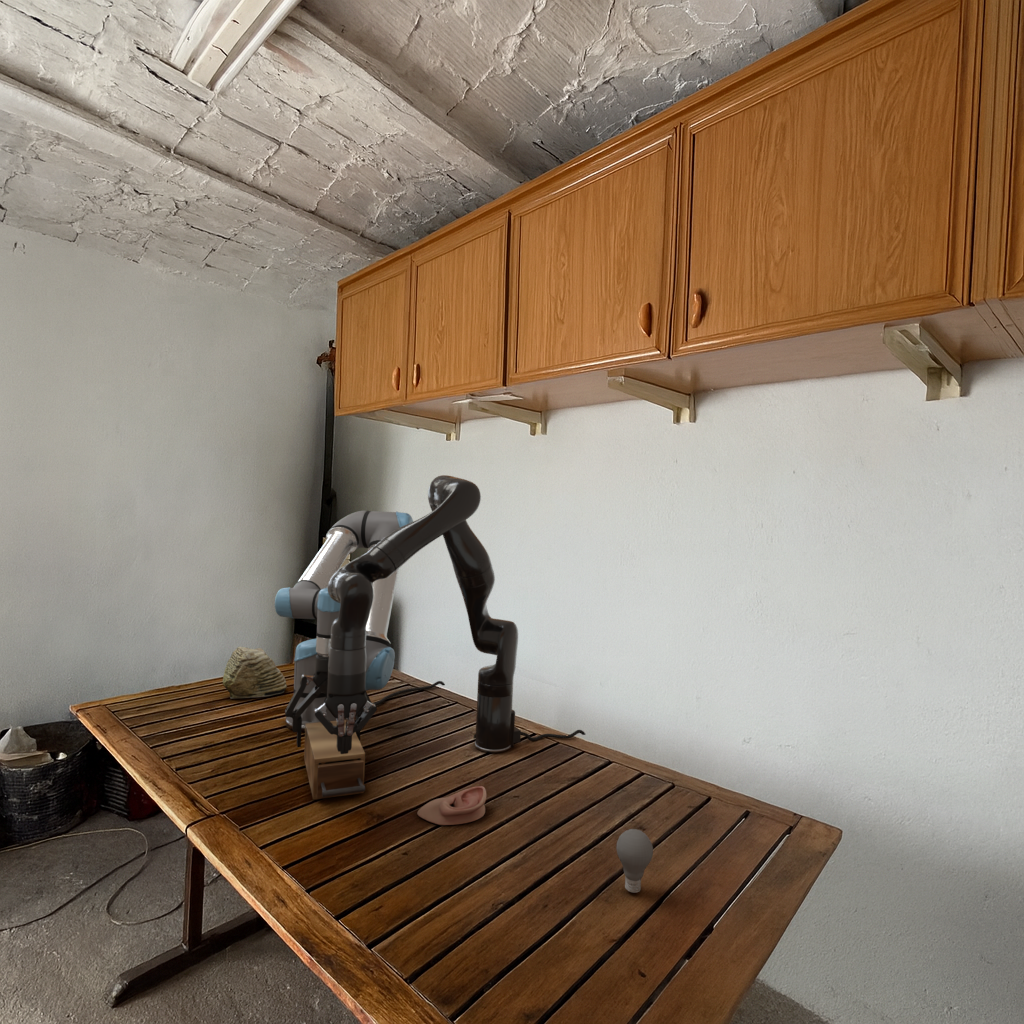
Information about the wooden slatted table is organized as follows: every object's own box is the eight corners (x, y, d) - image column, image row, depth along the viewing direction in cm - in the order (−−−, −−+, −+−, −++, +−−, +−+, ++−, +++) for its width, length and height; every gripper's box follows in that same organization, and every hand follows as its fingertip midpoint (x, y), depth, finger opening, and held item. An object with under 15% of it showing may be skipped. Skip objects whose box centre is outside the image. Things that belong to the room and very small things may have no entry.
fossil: (218, 695, 195) (220, 647, 195) (278, 685, 208) (279, 640, 207) (228, 703, 189) (230, 653, 188) (289, 692, 201) (290, 645, 201)
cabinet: (363, 792, 136) (365, 753, 136) (312, 799, 132) (314, 759, 132) (348, 753, 156) (349, 719, 156) (304, 758, 152) (305, 723, 152)
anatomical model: (412, 801, 125) (431, 776, 136) (411, 820, 125) (430, 795, 136) (477, 810, 122) (491, 784, 134) (476, 830, 122) (490, 803, 134)
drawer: (366, 804, 130) (368, 771, 129) (319, 810, 126) (321, 777, 126) (347, 755, 153) (349, 727, 153) (307, 759, 150) (309, 731, 150)
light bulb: (610, 879, 108) (613, 822, 108) (644, 879, 109) (647, 822, 109) (619, 902, 102) (622, 840, 102) (655, 901, 103) (658, 840, 103)
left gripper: (277, 660, 143) (273, 753, 143) (387, 654, 152) (383, 742, 153) (275, 652, 149) (272, 741, 150) (381, 647, 159) (377, 731, 159)
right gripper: (315, 675, 123) (312, 763, 124) (383, 671, 129) (379, 755, 129) (311, 665, 130) (308, 749, 131) (376, 661, 136) (372, 742, 136)
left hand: (328, 742), depth 151 cm, fingers open, 13 cm apart
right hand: (343, 752), depth 130 cm, fingers closed
